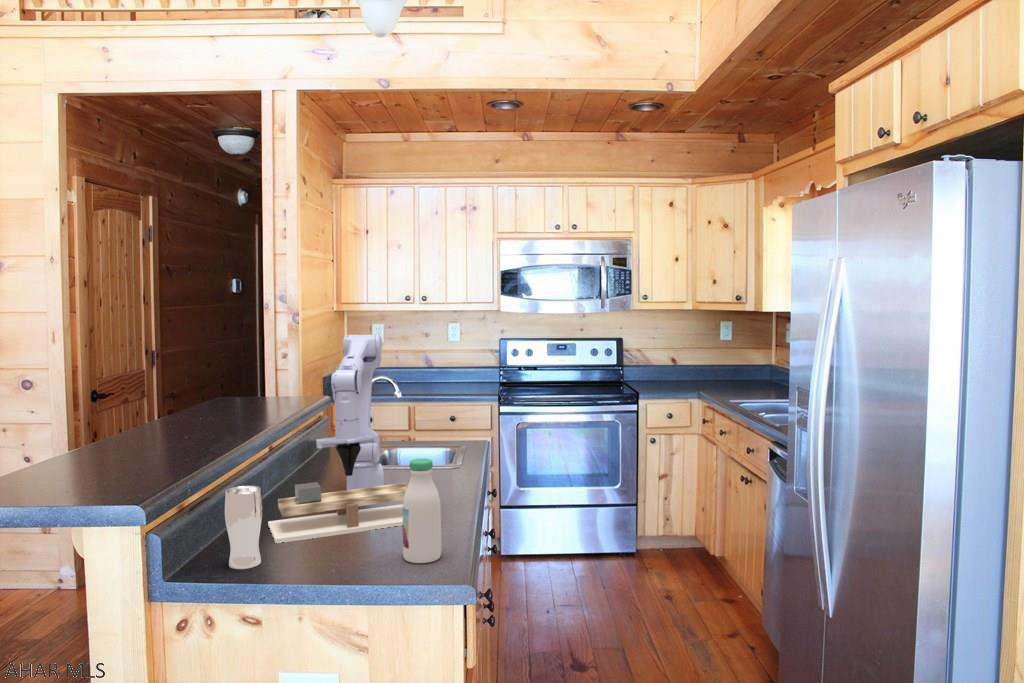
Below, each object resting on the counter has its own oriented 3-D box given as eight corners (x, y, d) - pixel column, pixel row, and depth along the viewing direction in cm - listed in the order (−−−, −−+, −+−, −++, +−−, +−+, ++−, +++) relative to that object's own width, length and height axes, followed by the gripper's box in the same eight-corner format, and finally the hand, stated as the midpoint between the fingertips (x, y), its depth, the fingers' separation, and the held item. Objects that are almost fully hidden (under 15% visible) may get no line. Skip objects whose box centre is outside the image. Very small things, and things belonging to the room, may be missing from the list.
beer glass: (232, 558, 148) (230, 485, 147) (267, 557, 149) (265, 484, 148) (221, 571, 141) (219, 494, 140) (258, 569, 142) (256, 493, 141)
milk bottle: (447, 553, 150) (446, 457, 149) (431, 566, 143) (430, 465, 142) (413, 549, 153) (412, 455, 152) (396, 561, 145) (394, 463, 144)
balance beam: (403, 492, 180) (403, 482, 180) (414, 501, 172) (414, 490, 172) (278, 510, 168) (277, 498, 168) (283, 520, 160) (282, 508, 160)
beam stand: (409, 507, 184) (408, 483, 183) (426, 522, 171) (426, 497, 171) (268, 525, 170) (267, 500, 169) (275, 543, 157) (274, 516, 156)
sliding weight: (317, 498, 170) (316, 482, 169) (321, 504, 165) (320, 486, 165) (295, 501, 168) (294, 484, 167) (298, 507, 163) (298, 489, 163)
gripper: (319, 424, 168) (321, 482, 169) (381, 419, 174) (382, 475, 175) (314, 419, 174) (315, 475, 175) (373, 414, 180) (375, 468, 181)
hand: (348, 474), depth 176 cm, fingers closed
